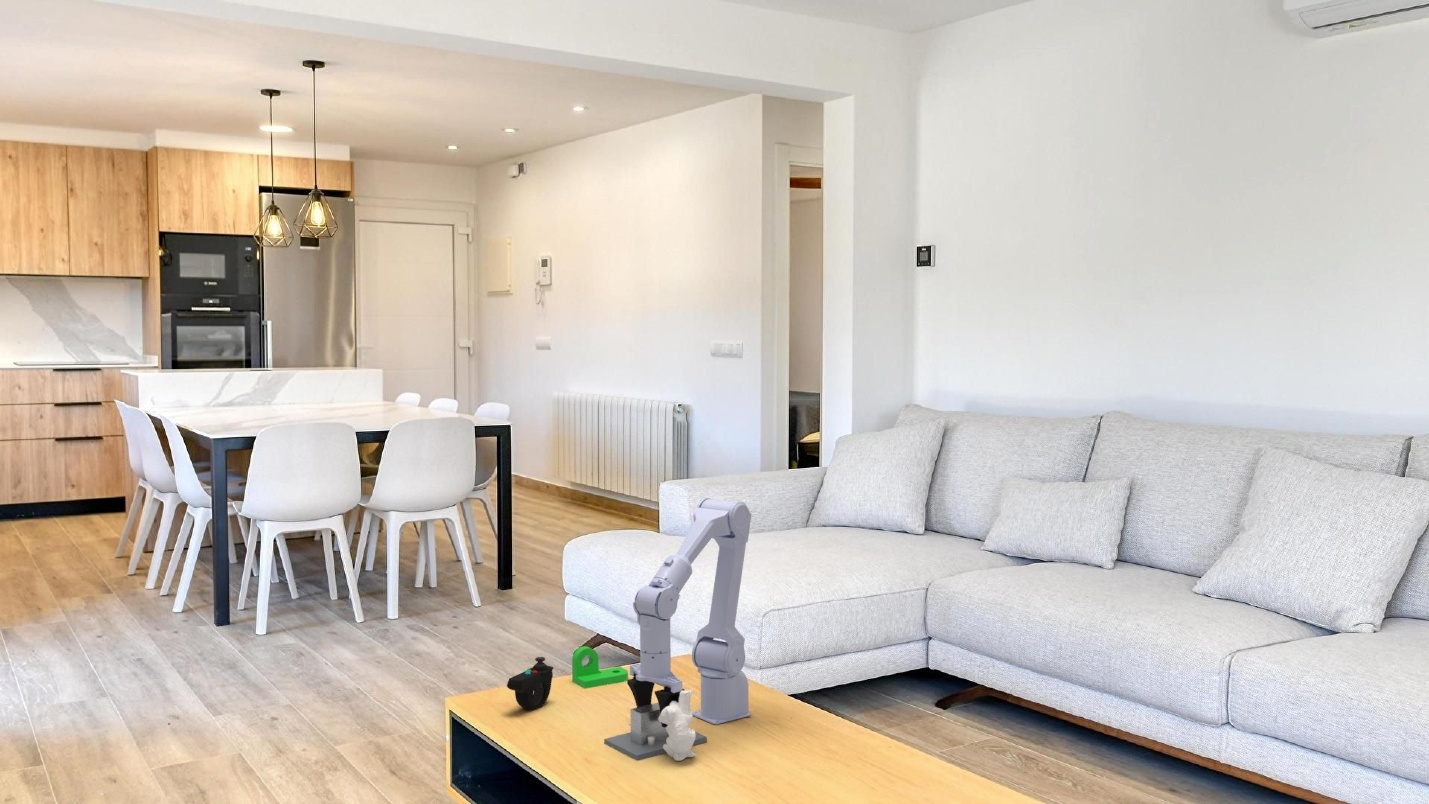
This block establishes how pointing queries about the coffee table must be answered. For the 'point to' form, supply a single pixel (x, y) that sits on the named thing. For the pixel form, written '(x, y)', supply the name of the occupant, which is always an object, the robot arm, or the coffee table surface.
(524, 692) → the controller
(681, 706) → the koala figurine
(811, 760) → the coffee table surface
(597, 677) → the mechanical part
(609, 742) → the pin tray
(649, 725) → the block
